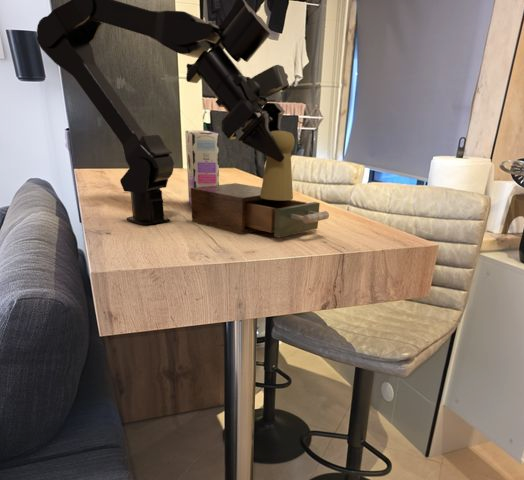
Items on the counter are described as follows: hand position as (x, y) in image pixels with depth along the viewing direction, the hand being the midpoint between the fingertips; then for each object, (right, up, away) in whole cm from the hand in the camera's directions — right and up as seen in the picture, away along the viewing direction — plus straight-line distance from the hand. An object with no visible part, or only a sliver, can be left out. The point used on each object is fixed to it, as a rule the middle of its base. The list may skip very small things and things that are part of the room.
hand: (286, 159), depth 79 cm
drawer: (-1, -10, +7) cm, 13 cm away
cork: (-2, -6, +3) cm, 7 cm away
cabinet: (-9, -7, +14) cm, 18 cm away
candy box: (-18, 0, +29) cm, 34 cm away
